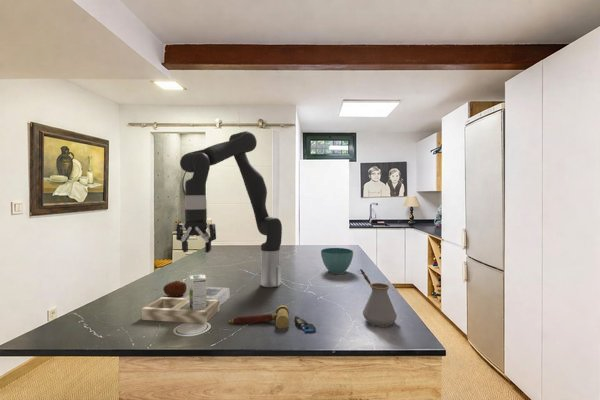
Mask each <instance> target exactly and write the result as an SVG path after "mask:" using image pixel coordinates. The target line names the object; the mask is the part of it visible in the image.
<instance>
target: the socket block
mask: <svg viewBox="0 0 600 400" xmlns="http://www.w3.org/2000/svg"><path fill="white" fill-rule="evenodd" d="M230 294H231V293H230V287H219V286H206V299H211V300H219V307H220V306H222V305H221V304H224V303H225V302H226V301H227V300H228V299H229V298H230ZM185 298H189V294H188V295H186V296H185Z"/></svg>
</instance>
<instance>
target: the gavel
mask: <svg viewBox="0 0 600 400" xmlns="http://www.w3.org/2000/svg"><path fill="white" fill-rule="evenodd" d="M289 314H290V312H289V308H288V306H287V305H284V304H280V305H279V306H277V308H276V309H275V313H272V314H271V313H263V314H253V315H243V316H237V317H235V318H232V319H229V320H228V323H229V324H235V325H244V324H245V325H246V324H247V325H248V324H257V323H258V324H259V323H269V322H273V321H275V326H276V328H278V329H286V328H287V329H288V327H289V326H290V318H289Z"/></svg>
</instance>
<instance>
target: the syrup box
mask: <svg viewBox="0 0 600 400" xmlns="http://www.w3.org/2000/svg"><path fill="white" fill-rule="evenodd" d="M206 287H207V276H206V274H194V275H190V276H189V293H188V295H189V310H204V309H205V308H206Z"/></svg>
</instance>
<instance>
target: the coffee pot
mask: <svg viewBox="0 0 600 400" xmlns="http://www.w3.org/2000/svg"><path fill="white" fill-rule="evenodd" d="M357 273H358V274H359V275H360V274H361V275H363V278H364V280H365V282H367V284H368V285H369V287H370V288H371V293H370V294H369V298H368V300H367V302H366V303H365V307H364V309H363V310H362V315H363V318H364V319H365V320H366V322H368V323H369V324H370V325H372V326H374V327H379V328H385V327H390V326H391V325H392V324H393V323H394V322H395V321H397V320H396V319H397V317H398V316H397V313H396V310H395V308H394V306H393V303H392V301H391V298H390V296H389V293H388V290H389V289H390V285H389V284H386V283H381V282H373V283H372V282H371V280H370V279H369V277H368V276H367V274H366V273H365V272H364V270H363V269H361V268H360V269H358V271H357Z"/></svg>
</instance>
